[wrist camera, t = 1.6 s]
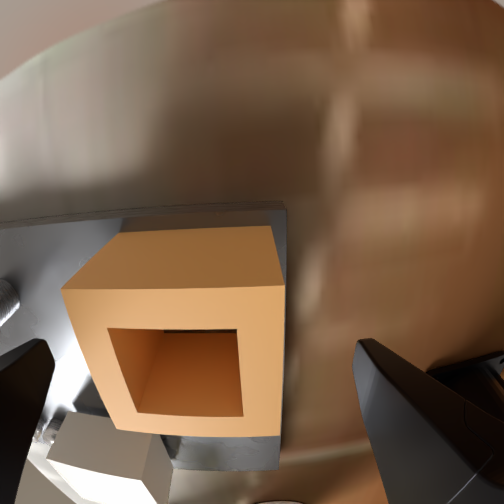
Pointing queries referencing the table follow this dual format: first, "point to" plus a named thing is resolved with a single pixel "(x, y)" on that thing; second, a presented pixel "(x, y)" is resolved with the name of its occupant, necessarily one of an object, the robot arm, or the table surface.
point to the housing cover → (111, 461)
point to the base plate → (61, 331)
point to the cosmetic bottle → (280, 502)
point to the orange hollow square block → (185, 318)
